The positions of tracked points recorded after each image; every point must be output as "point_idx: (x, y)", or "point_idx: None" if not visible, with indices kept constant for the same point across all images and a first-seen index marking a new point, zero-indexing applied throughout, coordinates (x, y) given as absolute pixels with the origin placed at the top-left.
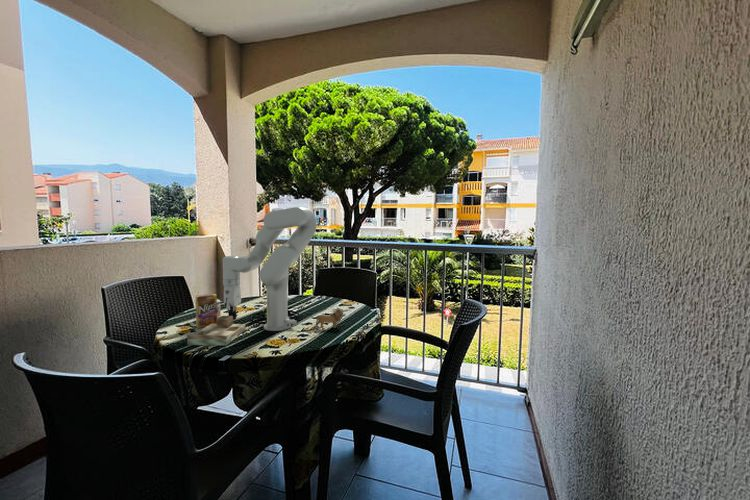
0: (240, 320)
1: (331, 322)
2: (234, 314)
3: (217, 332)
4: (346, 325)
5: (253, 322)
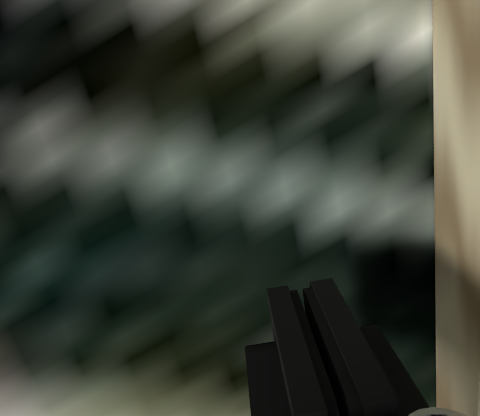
0: (10, 313)
1: None
2: (370, 354)
3: None
4: None
5: (20, 53)
